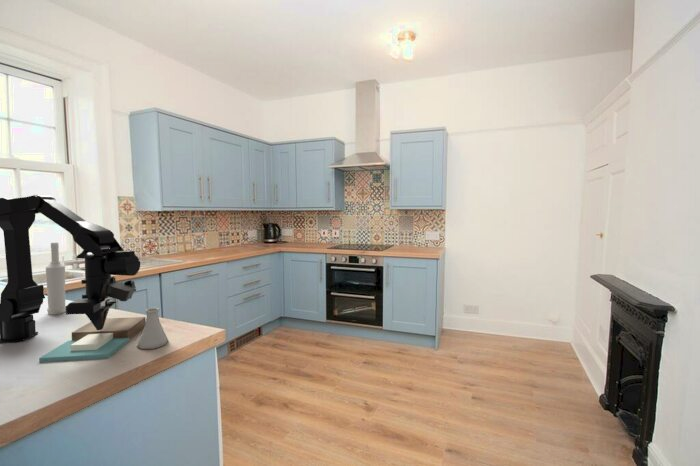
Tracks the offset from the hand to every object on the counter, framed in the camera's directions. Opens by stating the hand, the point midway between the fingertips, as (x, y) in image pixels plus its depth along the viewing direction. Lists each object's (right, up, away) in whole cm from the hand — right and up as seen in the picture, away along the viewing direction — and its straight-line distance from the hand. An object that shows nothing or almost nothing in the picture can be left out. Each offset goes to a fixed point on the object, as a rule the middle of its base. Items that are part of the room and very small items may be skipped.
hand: (99, 329), depth 93 cm
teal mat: (+1, -4, -6) cm, 7 cm away
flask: (+15, -4, -1) cm, 16 cm away
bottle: (-34, -2, +25) cm, 43 cm away
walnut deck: (-1, -3, +6) cm, 7 cm away
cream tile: (+1, -3, -4) cm, 5 cm away
